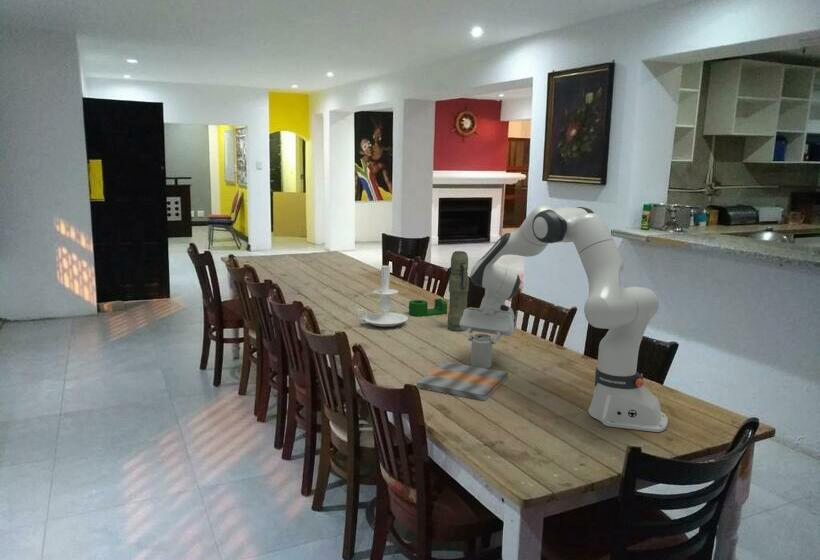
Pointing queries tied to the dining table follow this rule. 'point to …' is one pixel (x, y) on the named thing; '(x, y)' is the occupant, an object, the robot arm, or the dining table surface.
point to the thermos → (458, 289)
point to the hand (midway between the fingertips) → (481, 341)
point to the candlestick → (384, 305)
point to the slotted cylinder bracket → (420, 308)
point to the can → (481, 351)
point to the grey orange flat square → (463, 380)
